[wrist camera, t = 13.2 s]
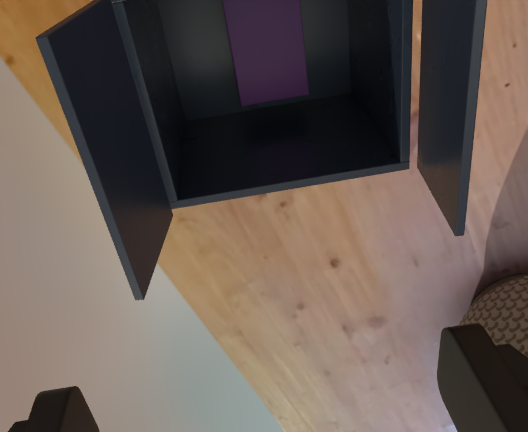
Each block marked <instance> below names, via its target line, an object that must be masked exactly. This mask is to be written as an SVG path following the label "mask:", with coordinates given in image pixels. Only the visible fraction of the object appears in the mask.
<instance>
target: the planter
mask: <svg viewBox="0 0 528 432" xmlns="http://www.w3.org/2000/svg"><path fill="white" fill-rule="evenodd" d="M472 323H479V324H481V325H482V326H483V327H484V329H485V330H486V331H487V333H488V335H489V336H490V338H491V339H492V341H493V342H494V344H495V345H502V344H508V343H509V344H511V345H512V346H513V347H514V348H516V349H517V350H518V351H520V352H521V353H522V354H524V355H525V356H526V357H528V274H520V275H513V276H509V277H506V278H503V279H500V280H498V281H496V282H494V283H493V284H491V285H489V286H488V287H487V288H485V289H484V290H483V291H482V292H481V293H480V294H479V295H478V296H477V297H476V298H475V299H474V301H473V303H472V304H471V306H470V308H469V310H468V312H467V313H466V314H465V315H464V317H463V319H462V320H461V322H460V324H459V326H460V325H466V324H472Z"/></svg>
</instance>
